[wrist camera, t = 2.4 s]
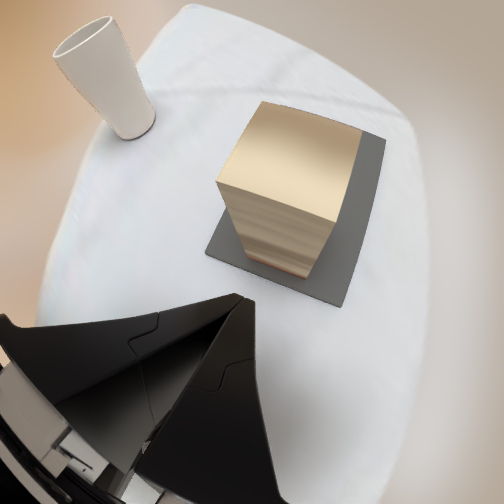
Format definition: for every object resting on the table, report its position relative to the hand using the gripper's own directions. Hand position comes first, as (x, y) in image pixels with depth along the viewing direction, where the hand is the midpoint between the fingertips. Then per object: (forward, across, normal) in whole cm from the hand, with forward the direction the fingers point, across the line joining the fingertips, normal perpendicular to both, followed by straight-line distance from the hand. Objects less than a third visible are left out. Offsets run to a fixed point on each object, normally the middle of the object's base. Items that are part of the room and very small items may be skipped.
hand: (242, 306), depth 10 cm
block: (+13, -1, -3) cm, 13 cm away
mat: (+17, -1, 0) cm, 17 cm away
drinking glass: (+18, -23, +2) cm, 29 cm away
